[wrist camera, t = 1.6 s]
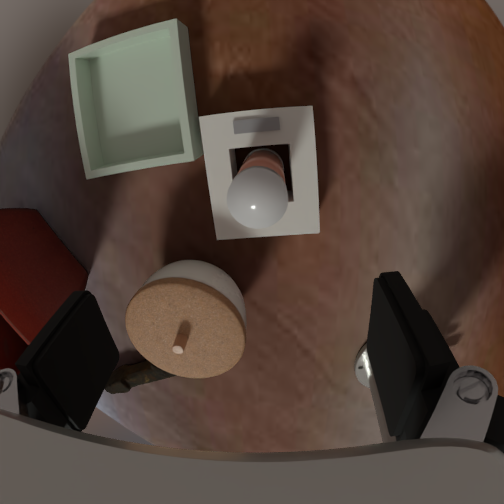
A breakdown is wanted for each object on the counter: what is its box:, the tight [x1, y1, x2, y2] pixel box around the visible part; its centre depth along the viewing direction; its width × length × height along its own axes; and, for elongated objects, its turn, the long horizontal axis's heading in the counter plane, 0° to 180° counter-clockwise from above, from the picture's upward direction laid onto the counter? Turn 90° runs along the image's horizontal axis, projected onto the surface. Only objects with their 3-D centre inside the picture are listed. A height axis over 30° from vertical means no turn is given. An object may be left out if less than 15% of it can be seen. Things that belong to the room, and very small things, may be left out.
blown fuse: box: [227, 148, 288, 229], centre depth 27 cm, size 4×4×12 cm
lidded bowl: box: [125, 260, 246, 378], centre depth 34 cm, size 13×13×11 cm
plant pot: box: [0, 208, 88, 375], centre depth 32 cm, size 19×19×17 cm
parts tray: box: [68, 18, 203, 180], centre depth 28 cm, size 12×14×4 cm
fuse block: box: [199, 106, 320, 240], centre depth 30 cm, size 10×12×4 cm
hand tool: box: [105, 360, 176, 394], centre depth 44 cm, size 19×4×5 cm, turn 116°
